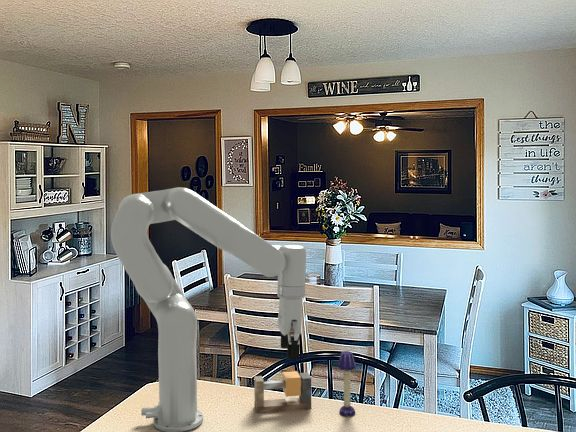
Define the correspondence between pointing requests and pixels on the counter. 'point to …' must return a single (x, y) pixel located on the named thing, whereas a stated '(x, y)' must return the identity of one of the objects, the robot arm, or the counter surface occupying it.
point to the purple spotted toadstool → (346, 381)
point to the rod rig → (281, 404)
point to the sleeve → (292, 383)
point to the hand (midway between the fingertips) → (289, 353)
